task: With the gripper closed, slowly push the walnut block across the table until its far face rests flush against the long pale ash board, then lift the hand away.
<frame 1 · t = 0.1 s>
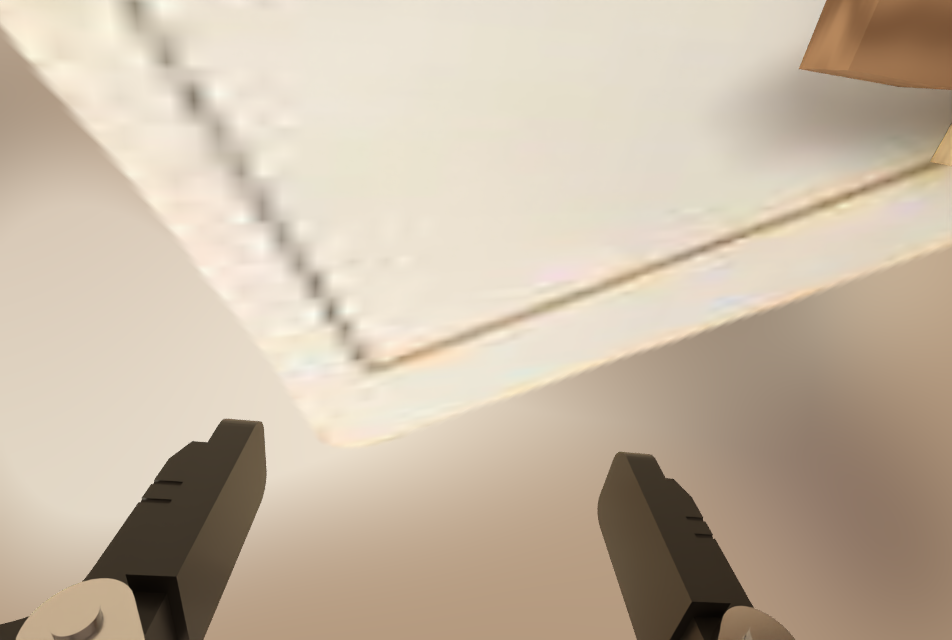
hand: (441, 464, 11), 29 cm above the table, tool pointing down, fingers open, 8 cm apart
walnut block: (873, 21, 34), on the table
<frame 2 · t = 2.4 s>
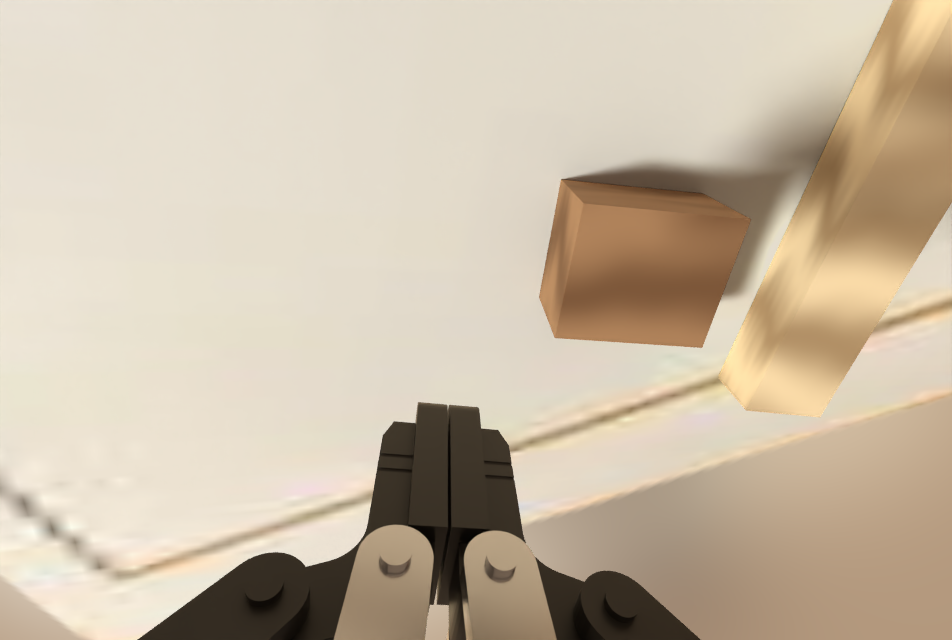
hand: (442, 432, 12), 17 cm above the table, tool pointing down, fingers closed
ash board: (839, 207, 28), on the table
walnut block: (616, 246, 28), on the table
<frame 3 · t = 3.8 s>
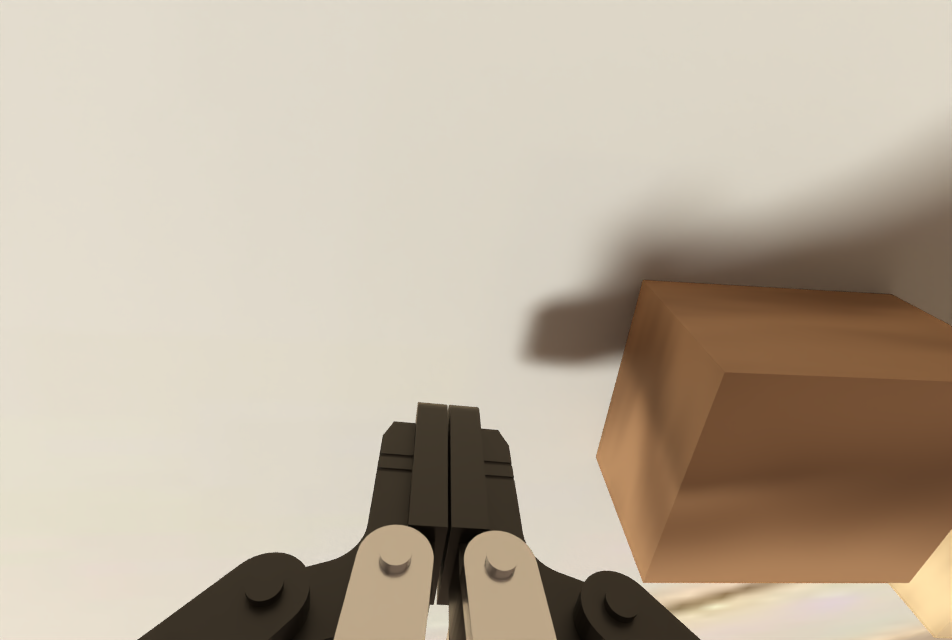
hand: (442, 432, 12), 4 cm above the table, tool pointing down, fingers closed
walnut block: (729, 378, 17), on the table
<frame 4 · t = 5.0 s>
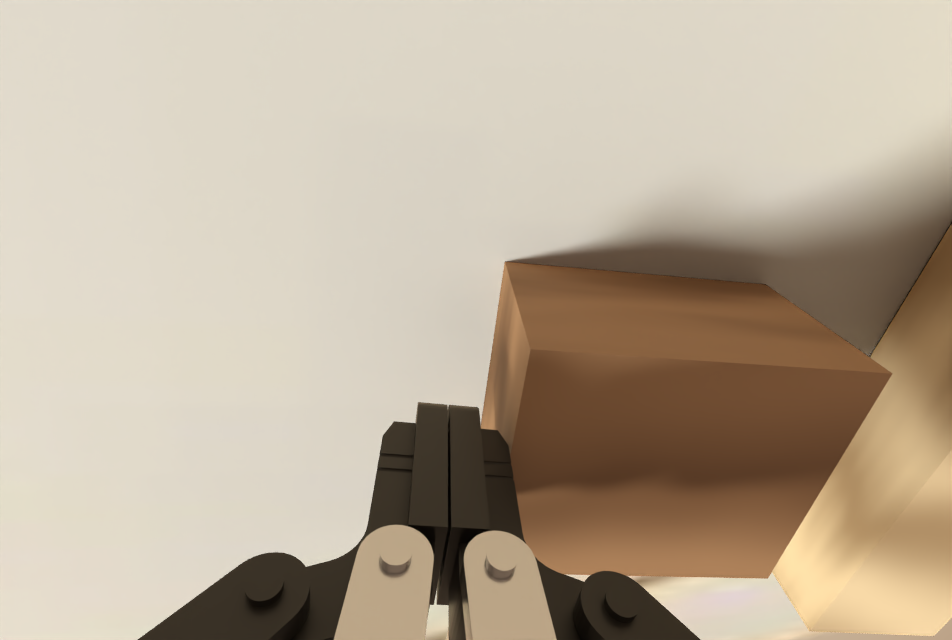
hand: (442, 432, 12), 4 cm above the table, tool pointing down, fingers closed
walnut block: (608, 368, 16), on the table
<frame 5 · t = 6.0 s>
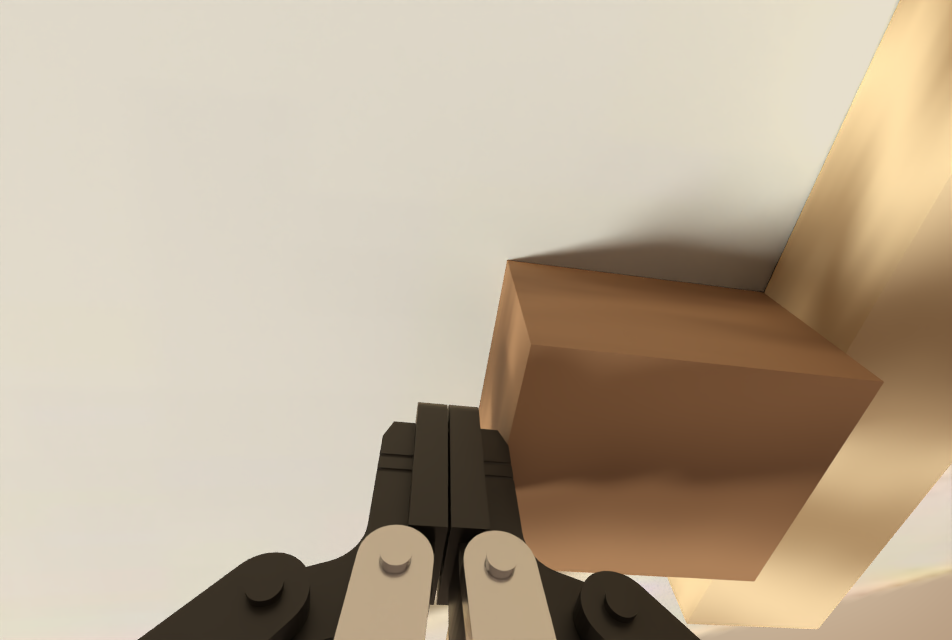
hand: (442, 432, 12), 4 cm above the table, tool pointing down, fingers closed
ash board: (852, 276, 15), on the table
walnut block: (604, 369, 16), on the table, touching ash board, gripper
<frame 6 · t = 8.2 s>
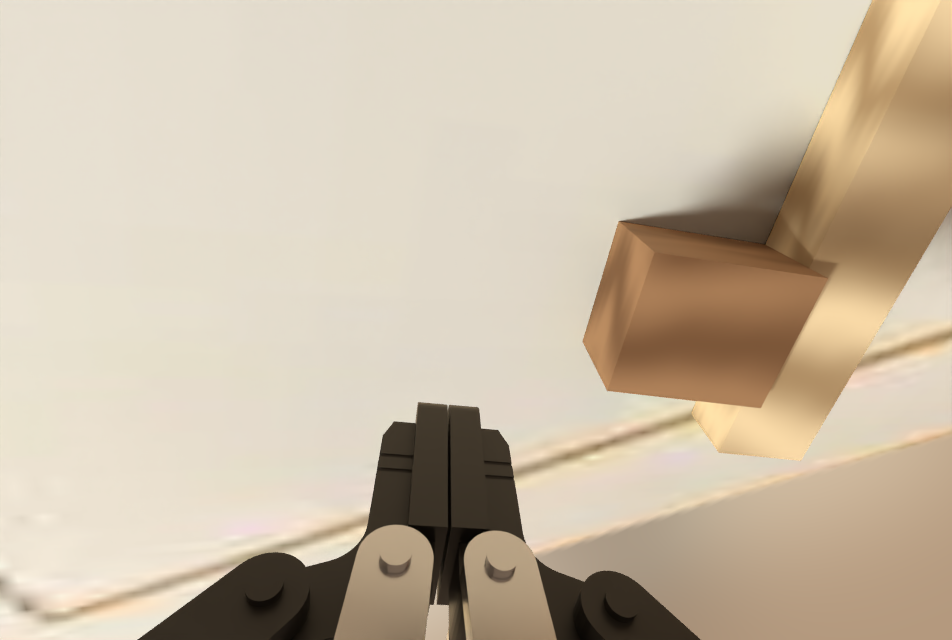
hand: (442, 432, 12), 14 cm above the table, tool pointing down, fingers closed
ash board: (817, 232, 25), on the table
walnut block: (668, 293, 27), on the table, touching ash board
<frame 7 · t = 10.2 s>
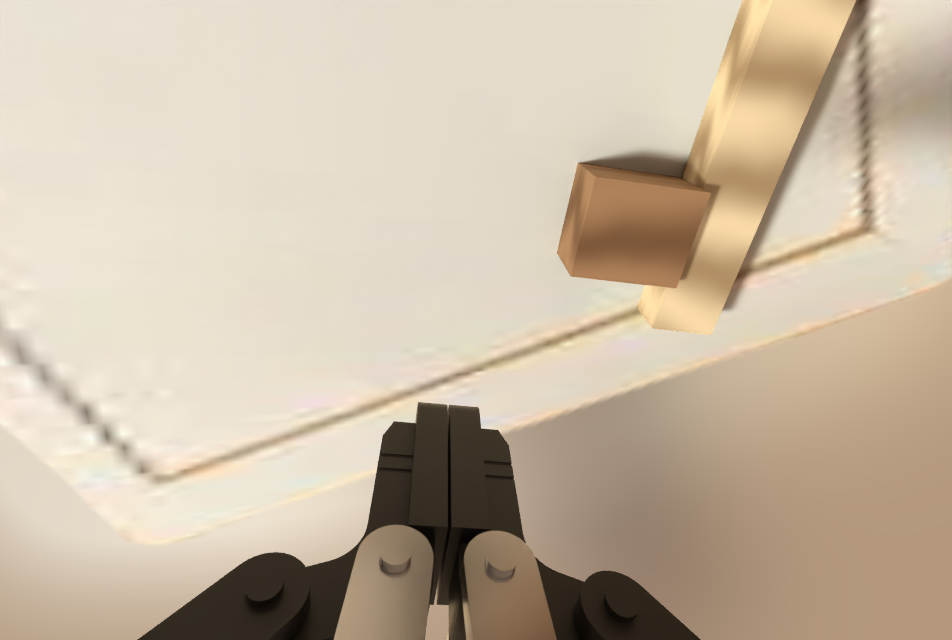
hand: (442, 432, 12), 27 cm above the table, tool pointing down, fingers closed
ash board: (717, 169, 36), on the table
walnut block: (616, 215, 38), on the table
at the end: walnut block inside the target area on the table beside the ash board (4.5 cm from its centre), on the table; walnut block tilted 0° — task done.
